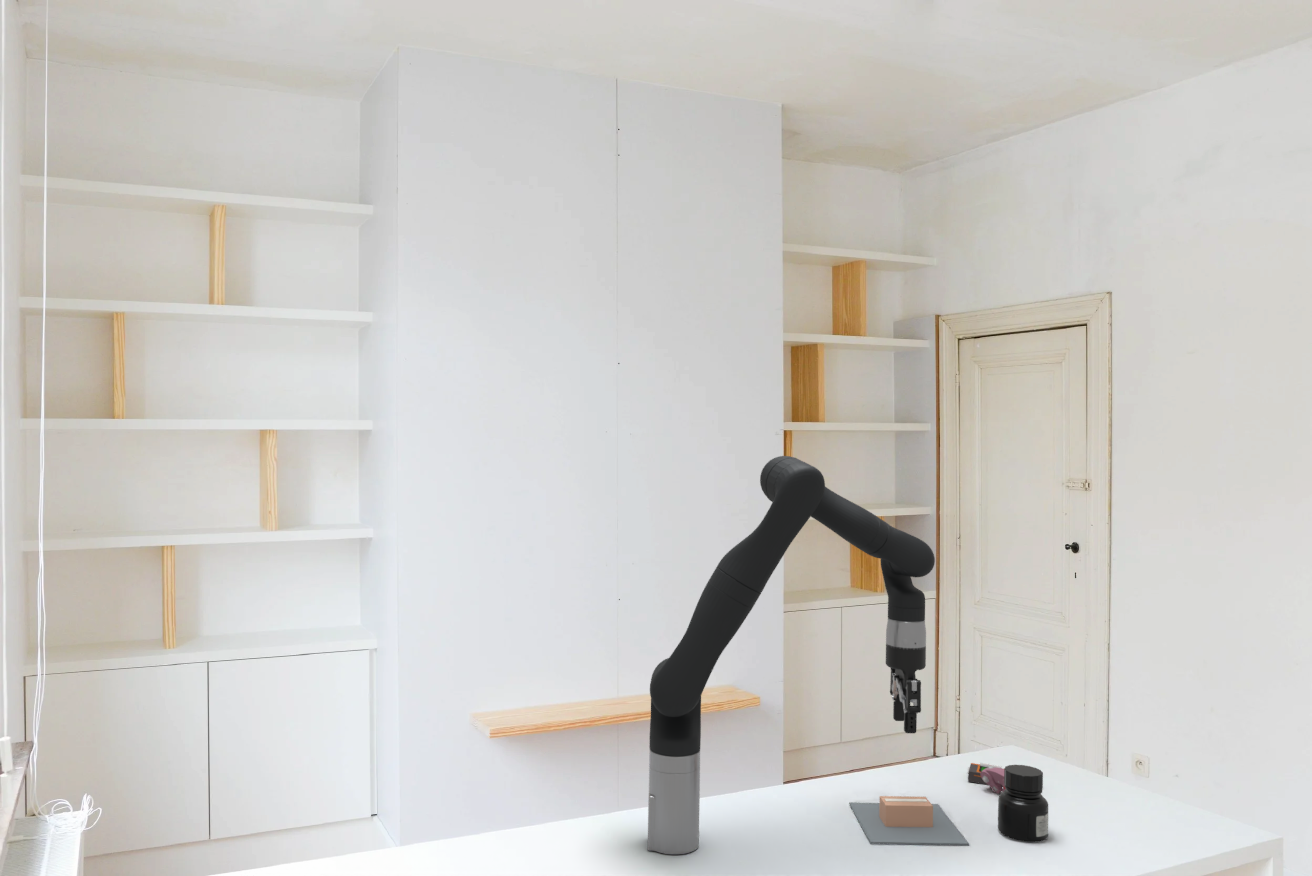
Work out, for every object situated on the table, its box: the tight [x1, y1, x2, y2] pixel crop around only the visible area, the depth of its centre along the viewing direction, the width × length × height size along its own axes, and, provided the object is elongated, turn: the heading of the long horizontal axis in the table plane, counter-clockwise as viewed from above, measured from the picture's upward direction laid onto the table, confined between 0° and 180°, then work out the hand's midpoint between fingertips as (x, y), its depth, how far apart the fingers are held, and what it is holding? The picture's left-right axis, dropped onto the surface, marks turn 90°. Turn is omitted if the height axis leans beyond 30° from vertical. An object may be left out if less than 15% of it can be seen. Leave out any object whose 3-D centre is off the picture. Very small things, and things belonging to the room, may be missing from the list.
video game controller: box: [980, 766, 1005, 795], centre depth 204 cm, size 10×5×7 cm, turn 27°
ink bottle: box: [997, 764, 1049, 843], centre depth 183 cm, size 10×9×12 cm
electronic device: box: [967, 762, 1003, 788], centre depth 212 cm, size 7×3×15 cm
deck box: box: [879, 795, 933, 827], centre depth 187 cm, size 5×9×4 cm, turn 90°
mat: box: [848, 801, 970, 847], centre depth 187 cm, size 18×20×1 cm
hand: (904, 726), depth 188 cm, fingers open, 8 cm apart
